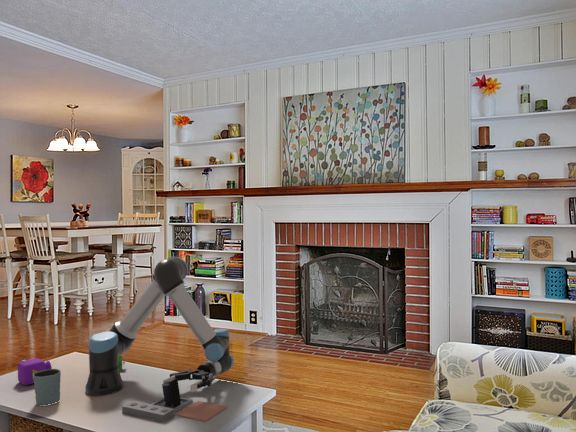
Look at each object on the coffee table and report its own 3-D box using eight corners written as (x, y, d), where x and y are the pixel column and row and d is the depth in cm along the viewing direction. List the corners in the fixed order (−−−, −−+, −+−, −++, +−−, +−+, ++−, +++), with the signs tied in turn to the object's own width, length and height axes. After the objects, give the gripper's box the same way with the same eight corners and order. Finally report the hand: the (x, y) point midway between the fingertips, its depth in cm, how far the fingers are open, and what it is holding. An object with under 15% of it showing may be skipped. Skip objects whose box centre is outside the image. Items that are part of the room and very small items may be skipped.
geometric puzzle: (110, 363, 241) (109, 352, 236) (125, 361, 243) (124, 351, 238) (110, 375, 235) (109, 365, 231) (125, 373, 237) (124, 363, 233)
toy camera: (56, 378, 226) (56, 357, 226) (27, 387, 214) (26, 365, 214) (43, 374, 232) (42, 353, 232) (13, 383, 220) (13, 361, 220)
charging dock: (122, 412, 185) (121, 405, 185) (157, 395, 202) (157, 388, 202) (163, 422, 176) (163, 414, 176) (196, 402, 193) (196, 395, 193)
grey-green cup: (57, 406, 193) (56, 375, 193) (29, 408, 191) (28, 377, 191) (64, 396, 203) (63, 367, 203) (38, 398, 201) (37, 369, 201)
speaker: (185, 404, 192) (182, 377, 192) (173, 409, 187) (170, 382, 187) (173, 401, 196) (170, 375, 197) (161, 406, 192) (158, 380, 192)
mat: (175, 415, 182) (175, 413, 182) (198, 401, 194) (198, 400, 194) (206, 421, 175) (206, 420, 175) (227, 407, 188) (227, 406, 188)
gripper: (233, 382, 208) (203, 400, 189) (185, 375, 219) (153, 391, 200) (232, 365, 208) (203, 381, 189) (185, 358, 219) (152, 372, 200)
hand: (177, 386), depth 194 cm, fingers open, 13 cm apart
